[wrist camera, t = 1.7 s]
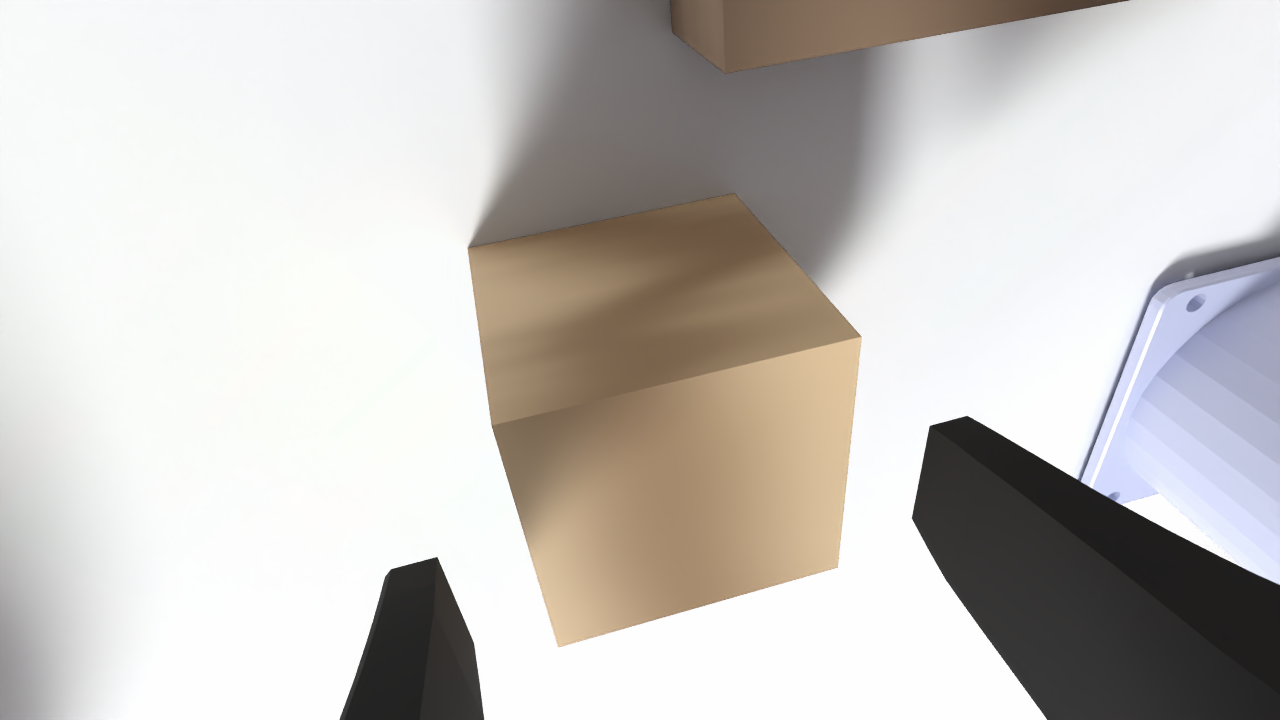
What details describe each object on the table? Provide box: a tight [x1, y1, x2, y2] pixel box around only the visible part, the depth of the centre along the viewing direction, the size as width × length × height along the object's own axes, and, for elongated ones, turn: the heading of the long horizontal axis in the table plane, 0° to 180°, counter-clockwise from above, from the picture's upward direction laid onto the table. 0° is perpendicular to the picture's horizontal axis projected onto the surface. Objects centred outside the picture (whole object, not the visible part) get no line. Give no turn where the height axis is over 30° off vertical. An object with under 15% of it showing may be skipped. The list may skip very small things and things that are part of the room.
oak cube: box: [468, 193, 862, 647], centre depth 13 cm, size 5×5×5 cm
